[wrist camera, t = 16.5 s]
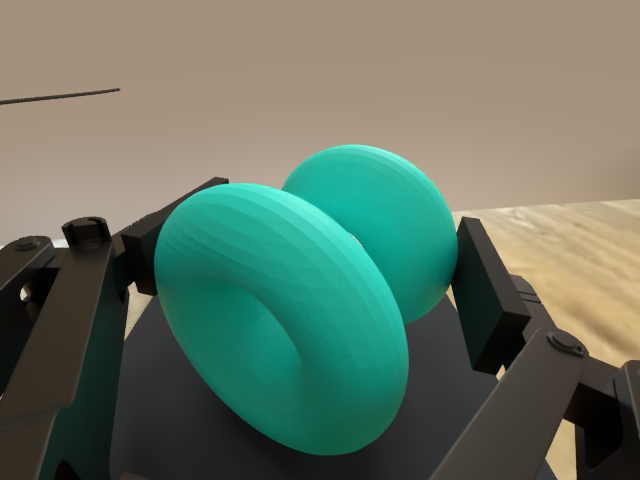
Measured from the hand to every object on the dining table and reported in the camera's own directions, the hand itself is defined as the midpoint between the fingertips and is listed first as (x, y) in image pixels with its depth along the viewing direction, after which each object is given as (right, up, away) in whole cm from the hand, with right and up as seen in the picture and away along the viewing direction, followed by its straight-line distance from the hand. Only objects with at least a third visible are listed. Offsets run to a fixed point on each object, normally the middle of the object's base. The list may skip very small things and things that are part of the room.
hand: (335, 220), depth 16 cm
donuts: (-1, -7, 0) cm, 7 cm away
